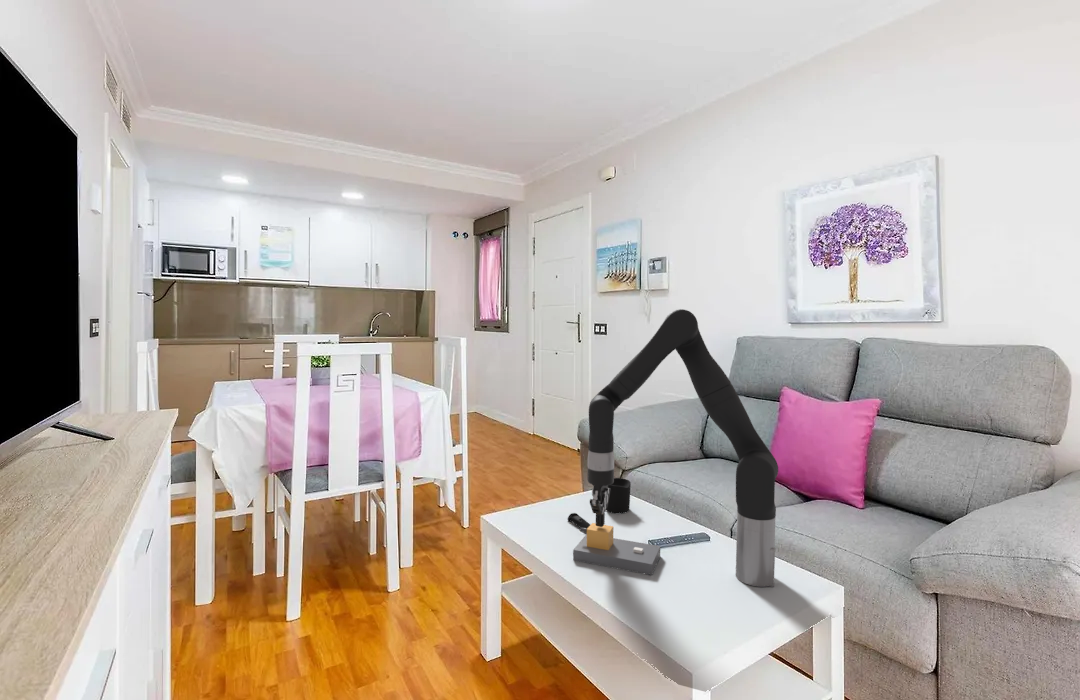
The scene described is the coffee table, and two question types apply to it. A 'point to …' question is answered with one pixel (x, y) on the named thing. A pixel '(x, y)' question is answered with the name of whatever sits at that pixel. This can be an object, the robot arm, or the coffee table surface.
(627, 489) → the pen holder
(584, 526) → the electric trimmer
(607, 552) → the socket board
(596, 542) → the plug
